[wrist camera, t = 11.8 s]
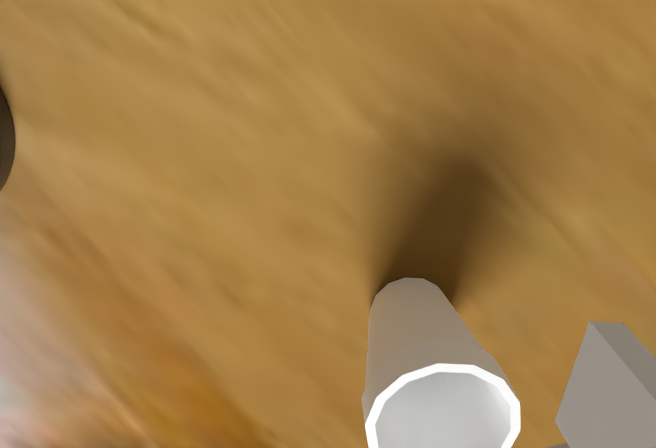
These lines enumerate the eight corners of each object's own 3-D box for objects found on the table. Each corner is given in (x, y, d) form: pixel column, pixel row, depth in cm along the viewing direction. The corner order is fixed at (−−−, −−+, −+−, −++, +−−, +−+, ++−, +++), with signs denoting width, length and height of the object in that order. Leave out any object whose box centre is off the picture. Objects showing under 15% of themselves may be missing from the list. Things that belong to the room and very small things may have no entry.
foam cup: (469, 351, 48) (521, 474, 36) (359, 367, 49) (376, 494, 37) (462, 251, 45) (518, 351, 33) (344, 268, 45) (356, 374, 33)
